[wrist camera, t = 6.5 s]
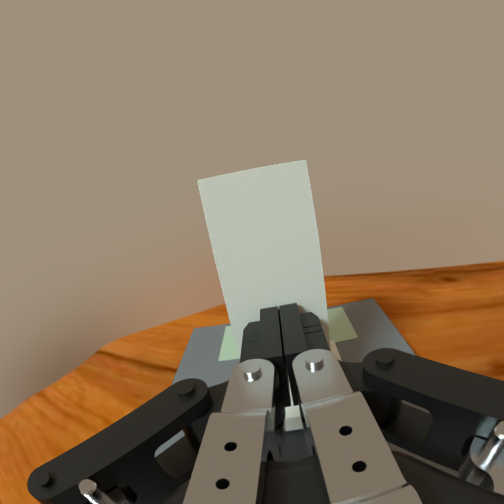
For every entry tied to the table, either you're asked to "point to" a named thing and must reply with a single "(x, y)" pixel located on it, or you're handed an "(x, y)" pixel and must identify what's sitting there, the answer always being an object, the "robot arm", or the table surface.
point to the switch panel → (340, 330)
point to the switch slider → (266, 247)
